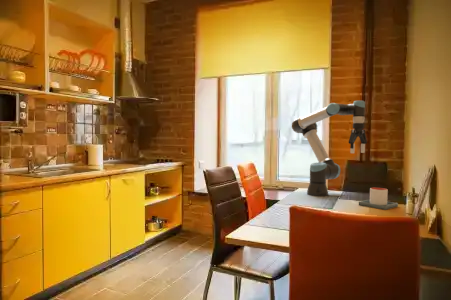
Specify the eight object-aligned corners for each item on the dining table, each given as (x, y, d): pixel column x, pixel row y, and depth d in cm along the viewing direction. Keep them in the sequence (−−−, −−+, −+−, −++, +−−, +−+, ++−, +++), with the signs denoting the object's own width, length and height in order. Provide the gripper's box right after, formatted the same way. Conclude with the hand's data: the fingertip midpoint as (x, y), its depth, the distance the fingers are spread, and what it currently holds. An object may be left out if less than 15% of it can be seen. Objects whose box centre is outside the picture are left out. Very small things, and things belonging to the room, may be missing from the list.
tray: (358, 205, 208) (358, 201, 208) (372, 202, 218) (372, 198, 218) (384, 210, 195) (385, 206, 195) (397, 206, 205) (398, 203, 205)
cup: (389, 206, 201) (389, 190, 200) (371, 205, 202) (372, 189, 202) (384, 203, 210) (385, 187, 210) (367, 202, 212) (368, 187, 212)
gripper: (353, 122, 220) (352, 153, 221) (372, 123, 236) (371, 152, 236) (343, 122, 226) (342, 153, 227) (362, 123, 241) (361, 152, 242)
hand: (357, 153), depth 232 cm, fingers open, 13 cm apart
